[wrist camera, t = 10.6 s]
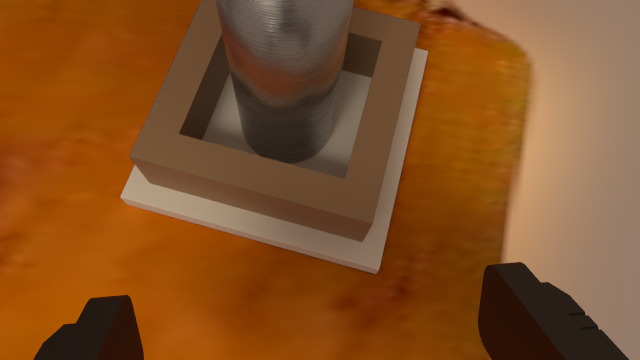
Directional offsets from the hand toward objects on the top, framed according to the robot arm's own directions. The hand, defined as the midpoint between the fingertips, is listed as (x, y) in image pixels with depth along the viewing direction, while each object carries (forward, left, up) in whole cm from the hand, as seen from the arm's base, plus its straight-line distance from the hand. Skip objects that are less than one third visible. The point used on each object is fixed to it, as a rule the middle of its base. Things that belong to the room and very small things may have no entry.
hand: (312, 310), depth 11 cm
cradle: (-4, +9, -11) cm, 15 cm away
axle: (-3, +9, -10) cm, 14 cm away
